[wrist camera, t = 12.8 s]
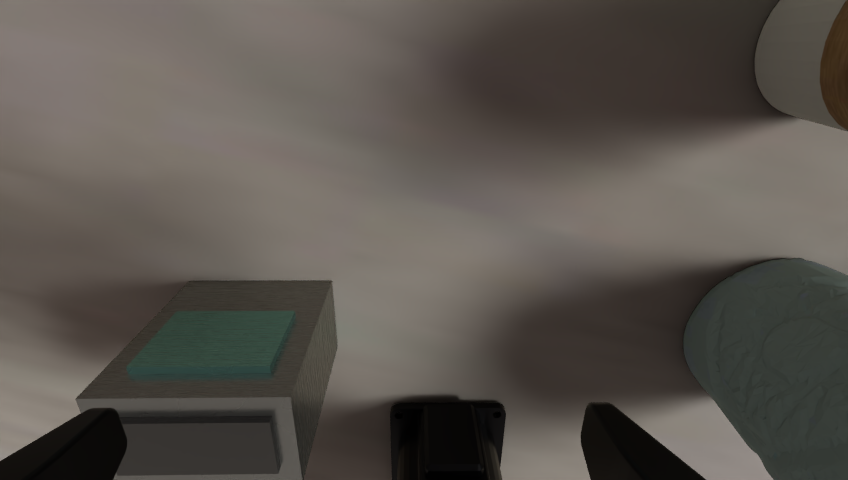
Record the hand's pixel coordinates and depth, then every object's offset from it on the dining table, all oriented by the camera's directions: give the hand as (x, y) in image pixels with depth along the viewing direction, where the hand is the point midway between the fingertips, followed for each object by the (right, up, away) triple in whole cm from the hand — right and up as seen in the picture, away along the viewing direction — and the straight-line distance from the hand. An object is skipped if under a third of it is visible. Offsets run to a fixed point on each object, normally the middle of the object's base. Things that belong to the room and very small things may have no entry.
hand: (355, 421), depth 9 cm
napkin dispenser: (-7, 0, +14) cm, 16 cm away
